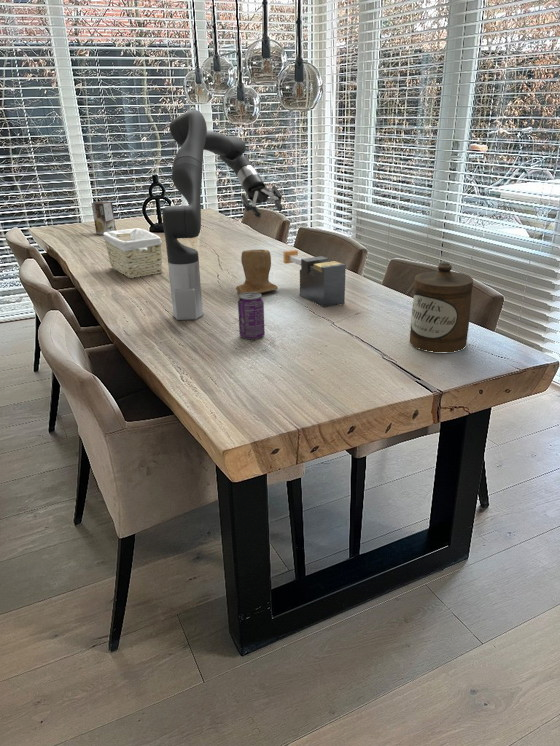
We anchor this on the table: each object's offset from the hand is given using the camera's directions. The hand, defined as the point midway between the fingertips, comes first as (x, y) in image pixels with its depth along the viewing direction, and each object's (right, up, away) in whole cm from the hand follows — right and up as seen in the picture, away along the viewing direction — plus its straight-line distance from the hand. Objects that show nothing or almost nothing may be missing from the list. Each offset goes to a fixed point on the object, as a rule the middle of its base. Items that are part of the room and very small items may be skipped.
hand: (270, 213), depth 206 cm
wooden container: (+46, -50, -51) cm, 85 cm away
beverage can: (-4, -47, -44) cm, 64 cm away
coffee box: (-88, +16, +97) cm, 132 cm away
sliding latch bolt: (+11, -21, -6) cm, 24 cm away
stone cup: (-5, -29, -5) cm, 30 cm away
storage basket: (-55, -16, +26) cm, 63 cm away
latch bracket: (+17, -33, -14) cm, 40 cm away
